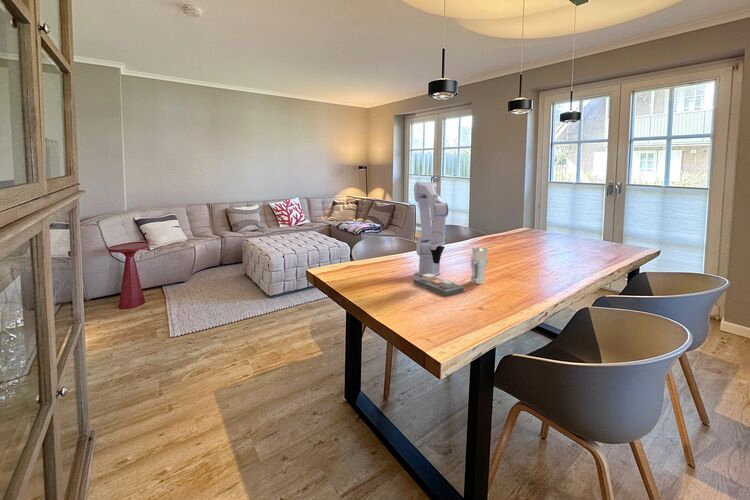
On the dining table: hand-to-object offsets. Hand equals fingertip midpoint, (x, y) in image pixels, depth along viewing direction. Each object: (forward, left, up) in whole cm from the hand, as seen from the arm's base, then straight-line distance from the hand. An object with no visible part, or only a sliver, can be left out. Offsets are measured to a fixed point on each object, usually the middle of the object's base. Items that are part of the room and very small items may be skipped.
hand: (436, 263), depth 160 cm
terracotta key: (+3, +4, -9) cm, 10 cm away
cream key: (+3, -1, -8) cm, 8 cm away
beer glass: (-18, +8, -10) cm, 22 cm away
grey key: (+3, +10, -8) cm, 13 cm away
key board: (+3, +4, -9) cm, 11 cm away
